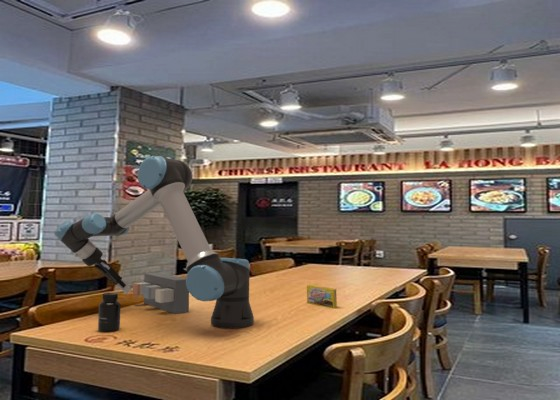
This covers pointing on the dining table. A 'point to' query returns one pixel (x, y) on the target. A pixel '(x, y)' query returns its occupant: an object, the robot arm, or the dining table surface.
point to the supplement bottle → (109, 313)
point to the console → (180, 292)
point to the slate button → (151, 291)
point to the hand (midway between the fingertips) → (128, 291)
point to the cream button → (164, 295)
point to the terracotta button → (139, 288)
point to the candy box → (321, 296)
